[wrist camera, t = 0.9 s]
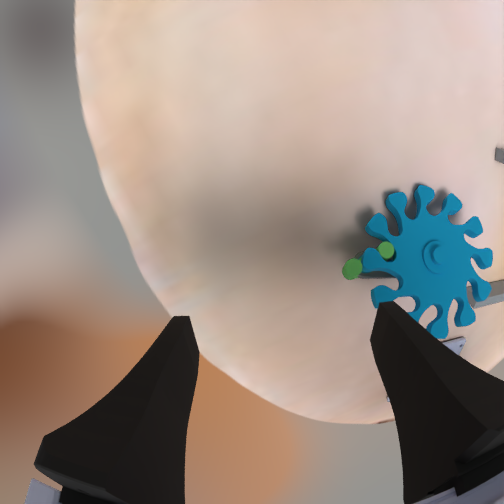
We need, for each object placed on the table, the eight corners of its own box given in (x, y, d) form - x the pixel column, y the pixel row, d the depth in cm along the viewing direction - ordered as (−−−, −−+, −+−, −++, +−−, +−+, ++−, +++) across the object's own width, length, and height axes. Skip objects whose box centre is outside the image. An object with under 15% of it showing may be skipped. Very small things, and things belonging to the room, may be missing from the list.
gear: (483, 186, 16) (503, 330, 13) (451, 216, 21) (461, 333, 19) (341, 177, 17) (346, 346, 15) (332, 213, 23) (334, 342, 20)
